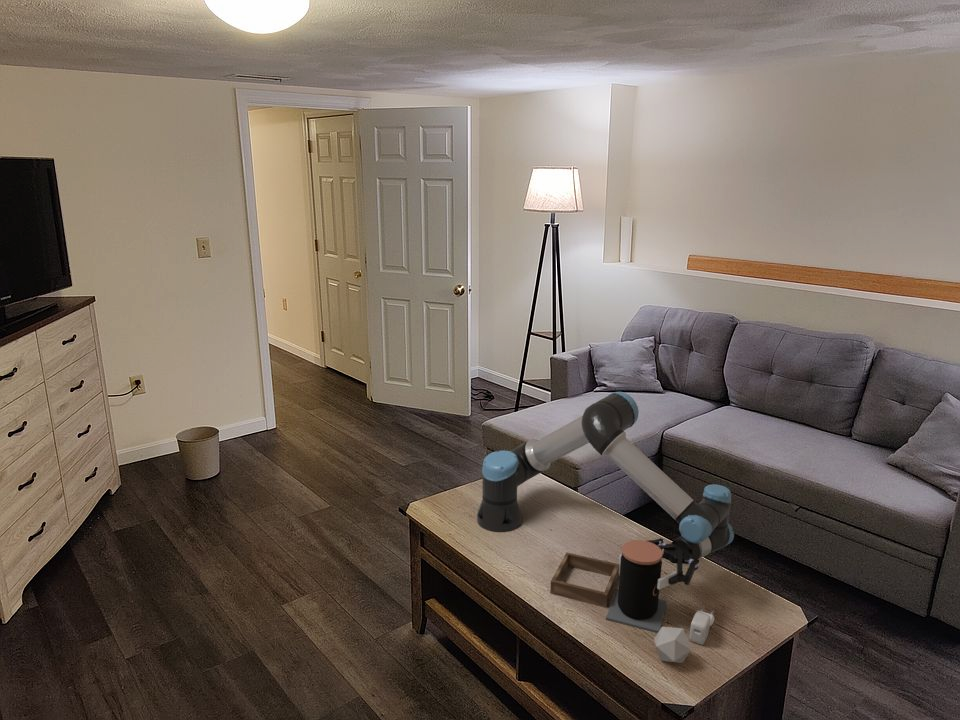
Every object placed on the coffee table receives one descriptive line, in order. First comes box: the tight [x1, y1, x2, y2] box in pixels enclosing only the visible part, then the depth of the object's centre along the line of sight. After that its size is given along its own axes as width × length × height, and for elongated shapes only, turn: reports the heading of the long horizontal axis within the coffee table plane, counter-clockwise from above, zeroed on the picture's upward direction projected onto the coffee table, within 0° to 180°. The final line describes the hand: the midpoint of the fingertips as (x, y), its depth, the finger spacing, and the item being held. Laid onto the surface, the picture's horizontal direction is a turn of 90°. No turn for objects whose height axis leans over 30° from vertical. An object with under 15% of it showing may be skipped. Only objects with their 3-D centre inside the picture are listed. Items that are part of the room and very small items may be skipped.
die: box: [653, 626, 692, 664], centre depth 166 cm, size 8×9×10 cm
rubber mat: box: [605, 588, 668, 634], centre depth 185 cm, size 14×14×1 cm
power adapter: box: [689, 606, 716, 646], centre depth 176 cm, size 11×5×6 cm, turn 148°
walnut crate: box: [549, 552, 620, 608], centre depth 195 cm, size 16×16×4 cm
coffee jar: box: [617, 539, 663, 620], centre depth 182 cm, size 11×11×18 cm
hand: (638, 571), depth 180 cm, fingers open, 13 cm apart
